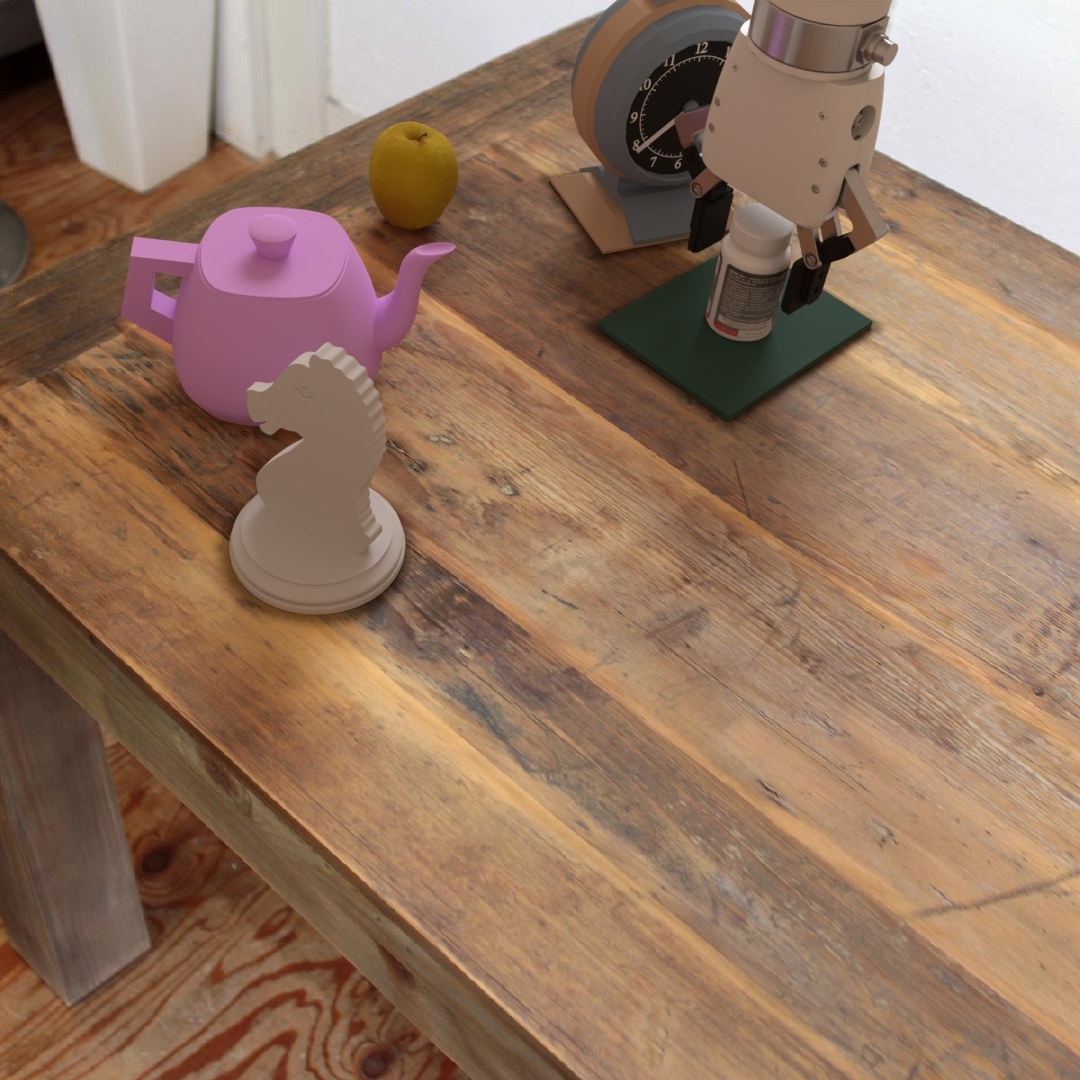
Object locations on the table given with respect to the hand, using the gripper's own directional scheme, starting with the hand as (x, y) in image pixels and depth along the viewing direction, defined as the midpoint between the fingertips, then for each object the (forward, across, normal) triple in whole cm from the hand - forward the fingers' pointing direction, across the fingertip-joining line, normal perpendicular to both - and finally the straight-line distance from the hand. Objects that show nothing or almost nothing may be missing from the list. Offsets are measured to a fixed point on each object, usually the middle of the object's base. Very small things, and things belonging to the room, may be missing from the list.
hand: (750, 273), depth 90 cm
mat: (+5, 0, 0) cm, 5 cm away
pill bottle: (+4, 0, 0) cm, 4 cm away
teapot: (+5, +15, +27) cm, 31 cm away
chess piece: (+5, +2, +35) cm, 35 cm away
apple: (+5, +23, +10) cm, 26 cm away
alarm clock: (+5, +14, -6) cm, 16 cm away
